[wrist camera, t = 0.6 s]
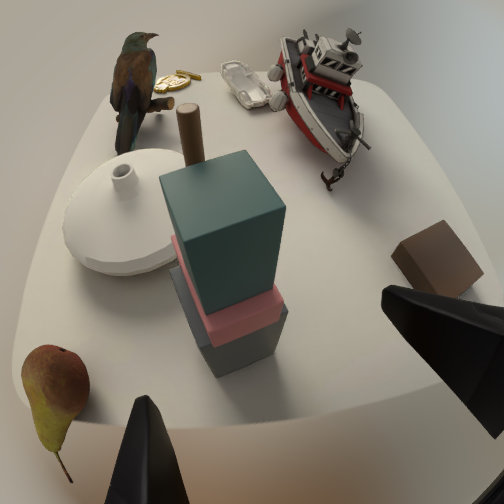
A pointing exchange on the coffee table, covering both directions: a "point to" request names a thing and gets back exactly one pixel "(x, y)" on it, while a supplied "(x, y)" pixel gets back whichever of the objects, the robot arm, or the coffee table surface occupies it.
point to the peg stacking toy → (224, 234)
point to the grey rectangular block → (233, 351)
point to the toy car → (245, 84)
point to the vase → (123, 214)
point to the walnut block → (437, 261)
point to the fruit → (55, 393)
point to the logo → (175, 81)
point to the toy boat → (321, 94)
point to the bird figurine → (135, 89)
